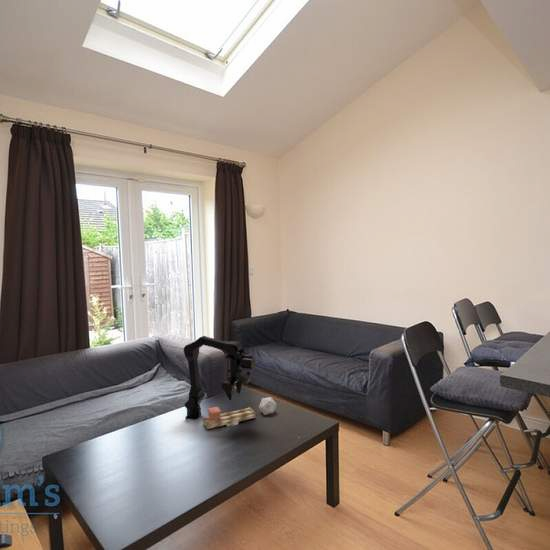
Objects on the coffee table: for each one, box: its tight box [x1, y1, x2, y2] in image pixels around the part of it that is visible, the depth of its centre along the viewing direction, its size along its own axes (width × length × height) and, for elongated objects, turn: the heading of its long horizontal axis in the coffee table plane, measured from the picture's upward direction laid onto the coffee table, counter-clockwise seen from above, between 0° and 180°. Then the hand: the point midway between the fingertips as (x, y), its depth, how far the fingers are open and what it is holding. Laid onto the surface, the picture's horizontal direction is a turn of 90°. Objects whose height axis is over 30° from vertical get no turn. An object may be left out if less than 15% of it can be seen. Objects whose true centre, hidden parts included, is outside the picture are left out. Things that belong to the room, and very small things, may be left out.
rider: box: [207, 406, 222, 421], centre depth 183 cm, size 5×6×5 cm
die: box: [258, 396, 277, 416], centre depth 196 cm, size 8×9×10 cm
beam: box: [202, 406, 256, 430], centre depth 187 cm, size 26×10×4 cm, turn 117°
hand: (234, 396), depth 185 cm, fingers open, 9 cm apart
